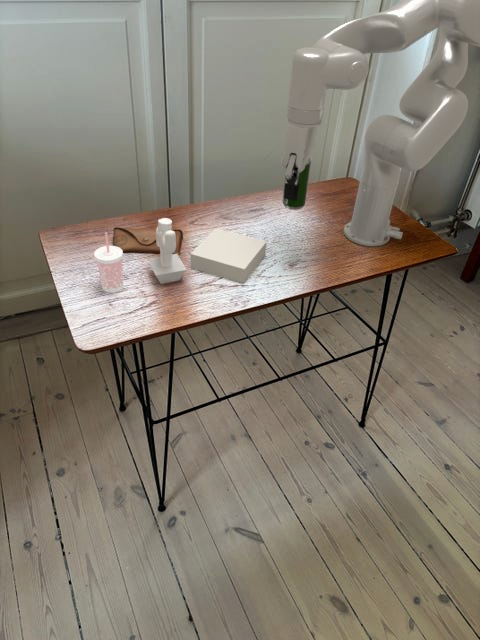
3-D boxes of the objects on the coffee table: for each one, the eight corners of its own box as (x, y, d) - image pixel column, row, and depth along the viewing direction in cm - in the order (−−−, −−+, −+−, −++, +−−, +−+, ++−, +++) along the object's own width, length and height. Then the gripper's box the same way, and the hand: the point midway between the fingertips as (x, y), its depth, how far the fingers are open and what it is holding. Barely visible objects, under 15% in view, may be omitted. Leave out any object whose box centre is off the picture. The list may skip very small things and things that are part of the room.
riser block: (265, 255, 130) (266, 241, 127) (243, 283, 120) (244, 269, 117) (215, 241, 134) (215, 228, 131) (190, 267, 124) (190, 253, 121)
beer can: (291, 212, 118) (297, 162, 111) (277, 203, 122) (282, 153, 114) (309, 207, 121) (316, 157, 113) (295, 198, 124) (301, 149, 116)
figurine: (176, 264, 125) (174, 208, 115) (188, 285, 118) (187, 228, 109) (147, 269, 122) (142, 212, 113) (157, 291, 116) (154, 233, 106)
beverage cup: (93, 286, 116) (84, 232, 107) (115, 275, 120) (108, 222, 111) (110, 298, 113) (102, 243, 104) (132, 286, 117) (126, 232, 108)
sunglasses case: (109, 254, 126) (108, 226, 125) (113, 253, 133) (113, 227, 132) (182, 255, 128) (182, 228, 127) (183, 254, 135) (183, 229, 134)
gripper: (300, 100, 115) (291, 177, 127) (273, 123, 103) (266, 205, 114) (332, 106, 113) (320, 183, 124) (309, 130, 101) (298, 213, 112)
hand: (294, 193), depth 119 cm, fingers closed on beer can, 5 cm apart
